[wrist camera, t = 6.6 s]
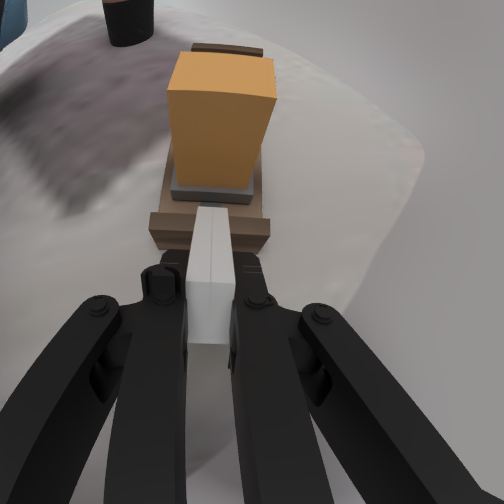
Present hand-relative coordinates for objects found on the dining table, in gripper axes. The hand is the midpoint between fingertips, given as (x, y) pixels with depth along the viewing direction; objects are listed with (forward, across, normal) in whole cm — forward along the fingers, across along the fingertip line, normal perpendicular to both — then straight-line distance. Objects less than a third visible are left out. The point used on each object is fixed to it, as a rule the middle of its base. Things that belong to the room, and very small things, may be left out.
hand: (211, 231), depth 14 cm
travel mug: (+31, -16, +20) cm, 40 cm away
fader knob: (+8, 0, +1) cm, 8 cm away
